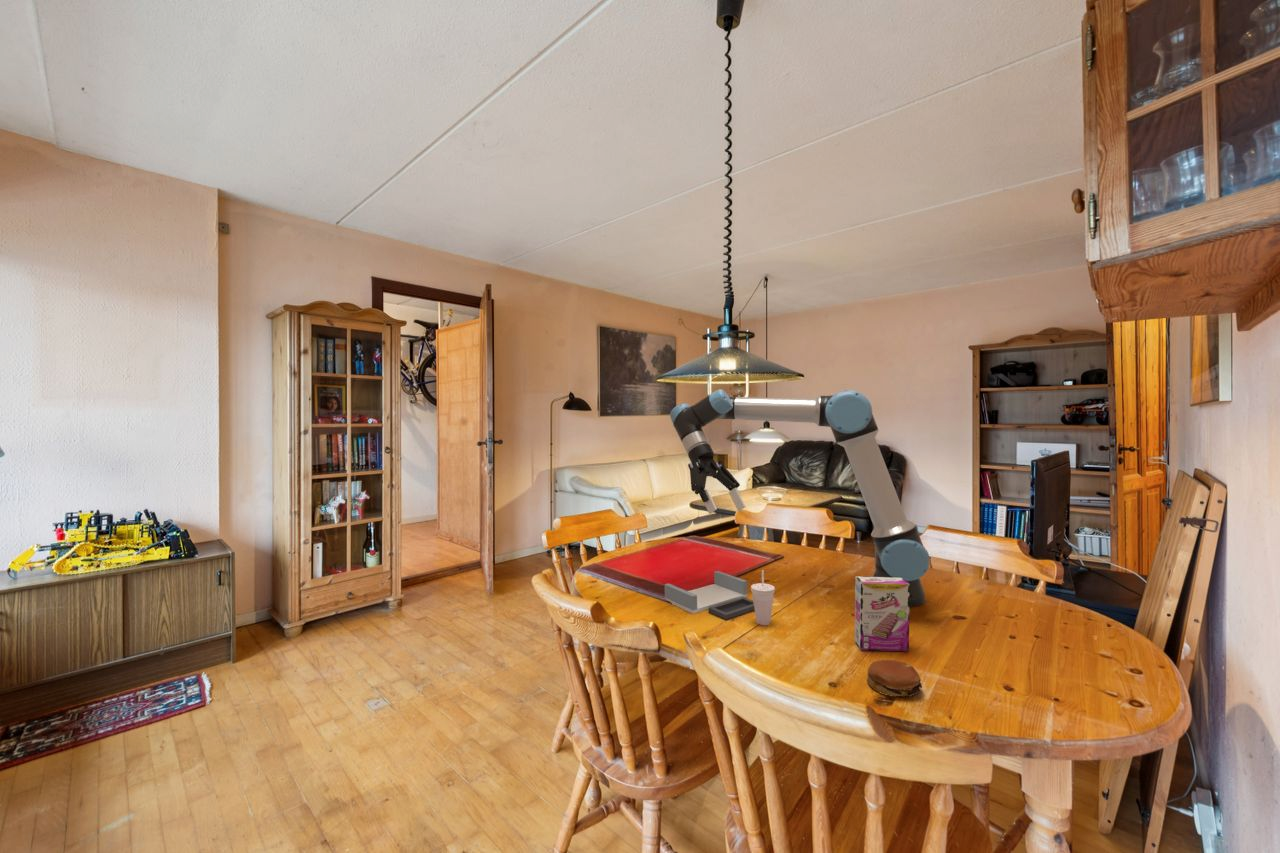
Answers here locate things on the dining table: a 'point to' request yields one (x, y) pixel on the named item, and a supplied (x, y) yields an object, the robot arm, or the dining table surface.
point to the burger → (893, 678)
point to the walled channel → (707, 593)
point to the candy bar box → (882, 613)
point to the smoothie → (763, 601)
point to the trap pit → (732, 608)
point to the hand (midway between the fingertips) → (728, 510)
